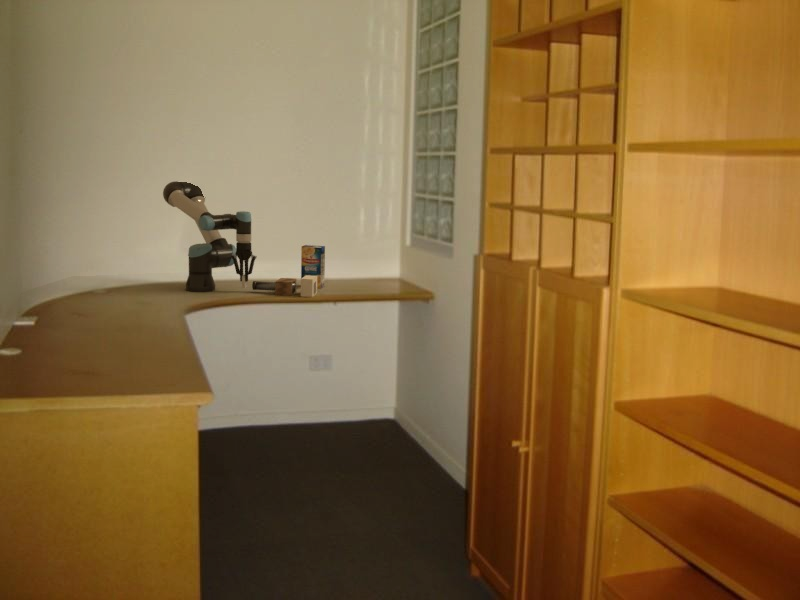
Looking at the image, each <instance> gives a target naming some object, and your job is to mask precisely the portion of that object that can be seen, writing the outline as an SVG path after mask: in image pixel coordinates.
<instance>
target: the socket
mask: <svg viewBox="0 0 800 600" xmlns="http://www.w3.org/2000/svg"><path fill="white" fill-rule="evenodd" d="M317 293H318V289H317V276H309V275H306V276H304V277H303V278H301V277H300V297H305V298H306V297H309V298H313V297H314V296H316V295H317Z"/></svg>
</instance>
